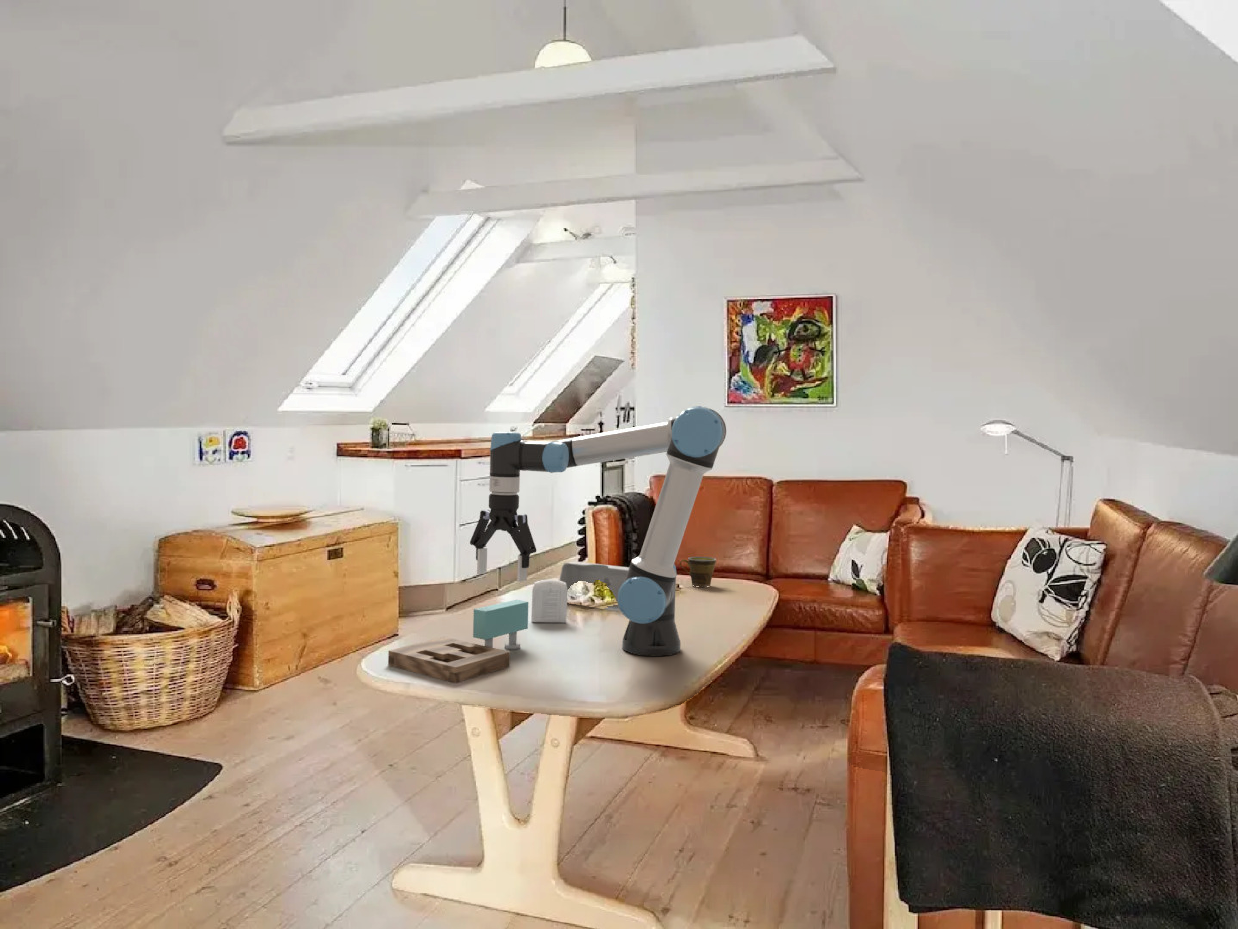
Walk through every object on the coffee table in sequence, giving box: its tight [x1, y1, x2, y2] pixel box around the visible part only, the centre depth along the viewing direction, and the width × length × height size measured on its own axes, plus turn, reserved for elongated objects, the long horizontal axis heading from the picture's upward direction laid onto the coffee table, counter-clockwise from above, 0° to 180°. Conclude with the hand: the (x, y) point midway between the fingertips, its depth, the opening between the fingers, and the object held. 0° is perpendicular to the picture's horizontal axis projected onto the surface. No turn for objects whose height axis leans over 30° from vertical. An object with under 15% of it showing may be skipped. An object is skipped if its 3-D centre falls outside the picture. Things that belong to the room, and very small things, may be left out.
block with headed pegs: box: [472, 599, 529, 651], centre depth 230 cm, size 4×16×12 cm, turn 145°
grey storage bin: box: [559, 560, 629, 613], centre depth 294 cm, size 25×16×12 cm, turn 62°
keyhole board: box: [387, 636, 511, 684], centre depth 215 cm, size 22×18×4 cm
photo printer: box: [530, 579, 568, 624], centre depth 265 cm, size 10×4×12 cm, turn 98°
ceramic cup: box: [679, 556, 717, 588], centre depth 329 cm, size 13×10×10 cm
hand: (501, 577), depth 229 cm, fingers open, 13 cm apart
